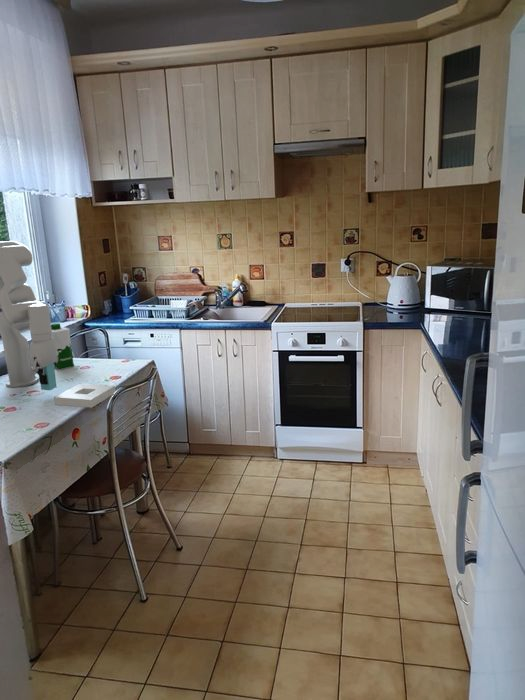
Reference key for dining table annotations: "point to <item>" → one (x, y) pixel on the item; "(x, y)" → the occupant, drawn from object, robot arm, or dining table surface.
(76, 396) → the white square-hole board
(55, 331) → the milk carton
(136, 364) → the dining table surface
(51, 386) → the plug
